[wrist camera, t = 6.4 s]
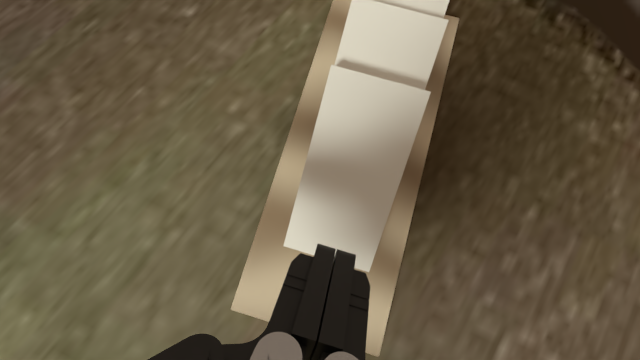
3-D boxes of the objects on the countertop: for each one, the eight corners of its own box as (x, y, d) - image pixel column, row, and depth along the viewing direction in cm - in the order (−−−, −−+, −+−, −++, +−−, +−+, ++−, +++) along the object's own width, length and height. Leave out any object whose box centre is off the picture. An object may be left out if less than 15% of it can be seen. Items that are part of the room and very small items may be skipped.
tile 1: (368, 272, 17) (431, 91, 15) (283, 246, 17) (331, 64, 15) (367, 259, 19) (423, 93, 16) (289, 235, 19) (333, 69, 17)
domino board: (375, 350, 18) (378, 356, 18) (235, 305, 19) (230, 309, 18) (453, 27, 23) (459, 18, 22) (336, -3, 23) (337, -14, 22)
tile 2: (386, 202, 18) (448, 20, 15) (304, 178, 18) (352, -5, 16) (384, 195, 19) (440, 28, 17) (308, 173, 20) (353, 5, 17)
